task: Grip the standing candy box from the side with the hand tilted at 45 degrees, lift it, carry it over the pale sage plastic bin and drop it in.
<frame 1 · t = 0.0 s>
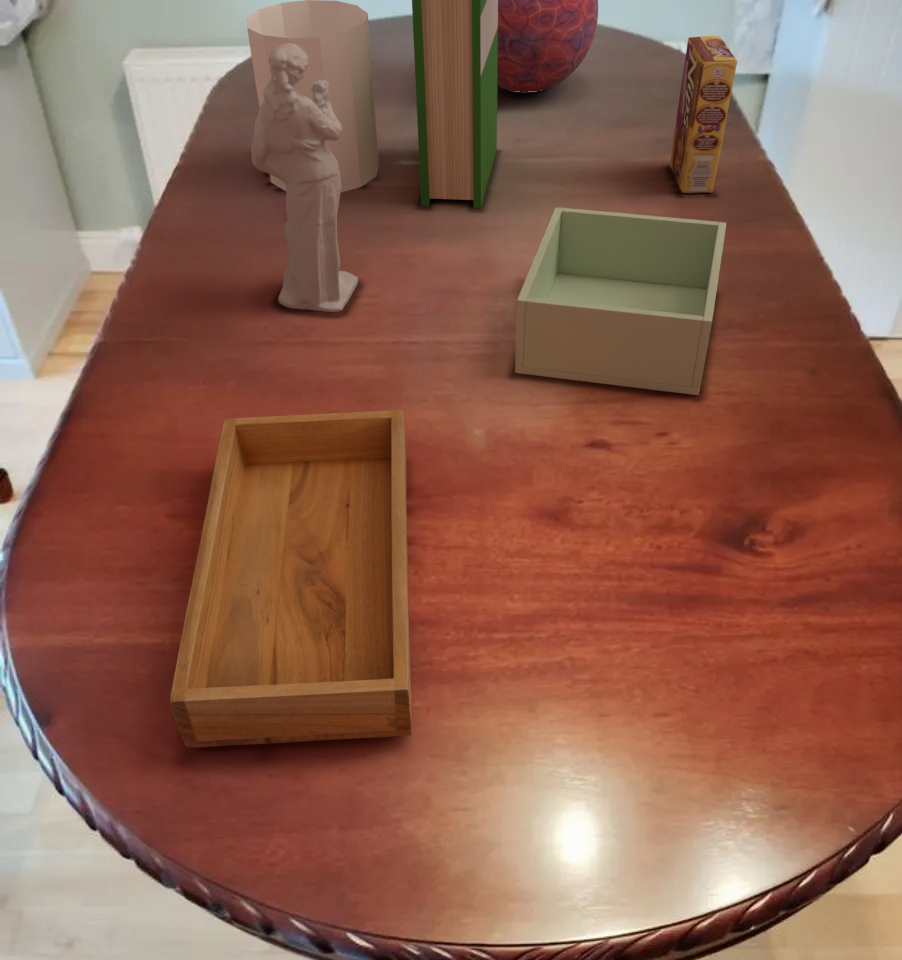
tray: (312, 588, 77), on the table
container: (324, 172, 131), on the table
decorative sphere: (525, 90, 150), on the table
candy box: (691, 180, 127), on the table
bin: (619, 331, 102), on the table
hardback book: (460, 178, 129), on the table
figurine: (318, 293, 109), on the table
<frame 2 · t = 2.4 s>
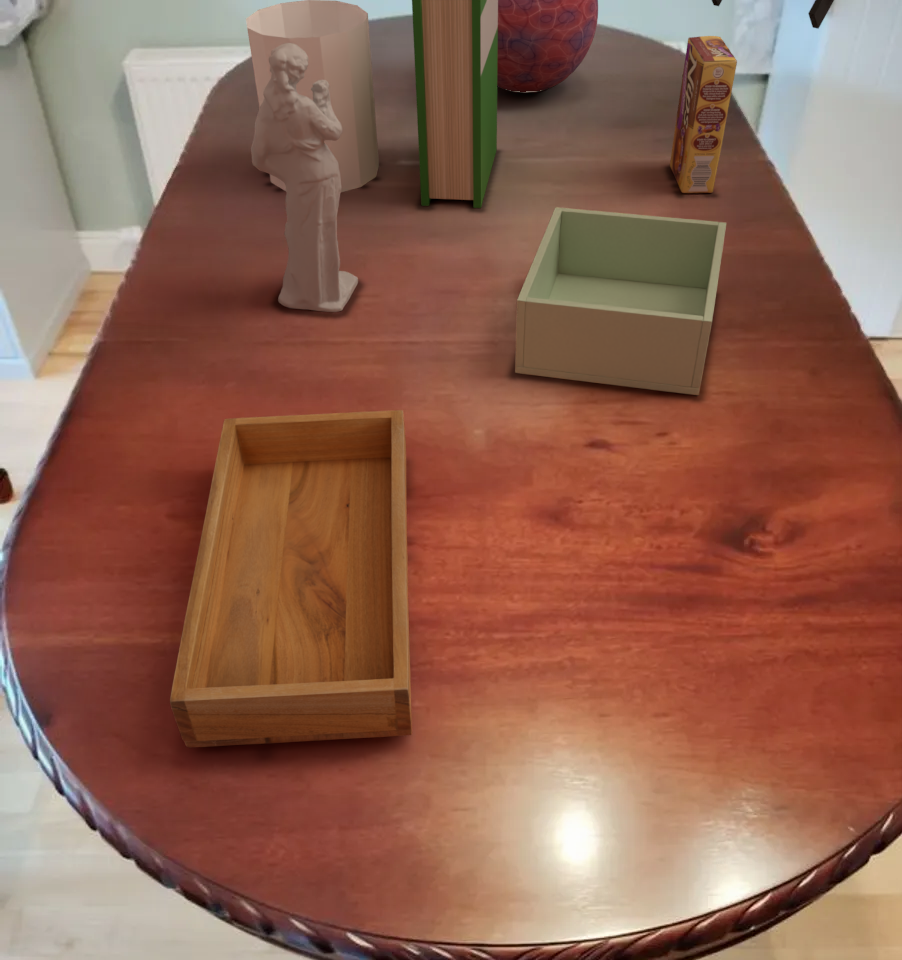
hand: (761, 10, 120), 17 cm above the table, tool tilted 45°, fingers open, 13 cm apart
nothing on the table moved.
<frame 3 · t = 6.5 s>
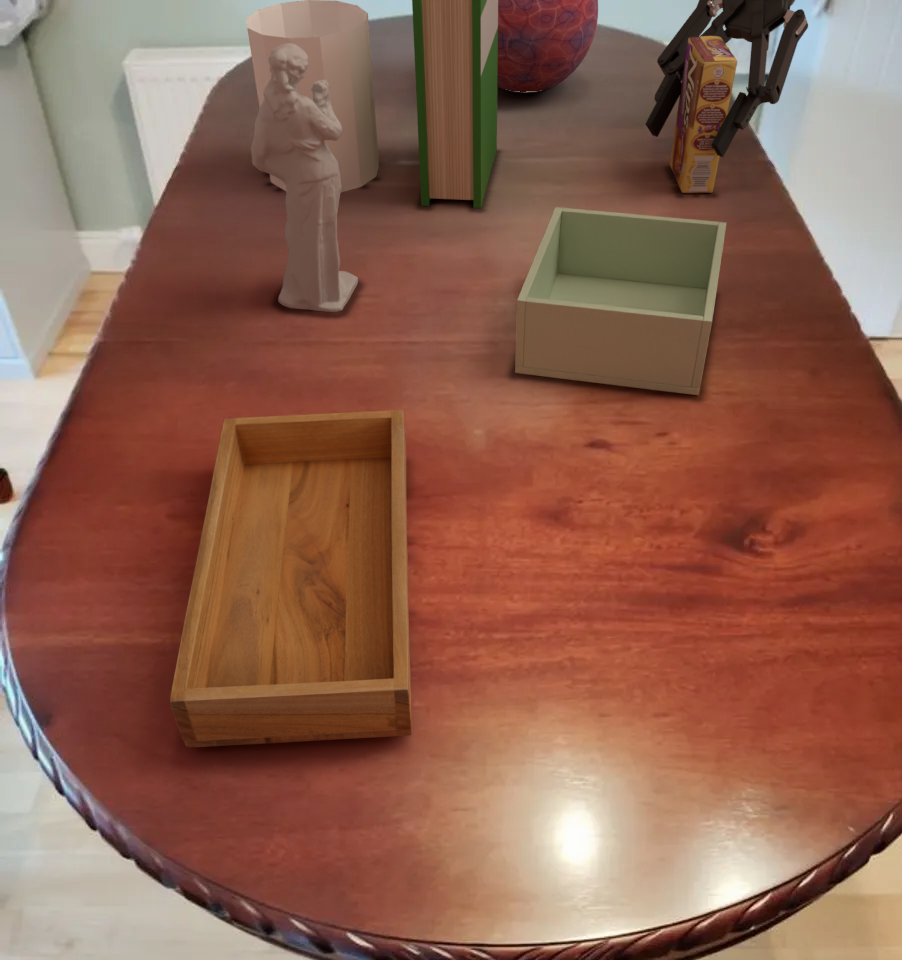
hand: (683, 140, 121), 6 cm above the table, tool tilted 45°, fingers closed on candy box, 9 cm apart
candy box: (691, 180, 127), on the table, touching gripper
everything else where it was.
when the fingers open (11 cm above the table, at t = 17.8 s): candy box drops 4 cm, resting on bin.
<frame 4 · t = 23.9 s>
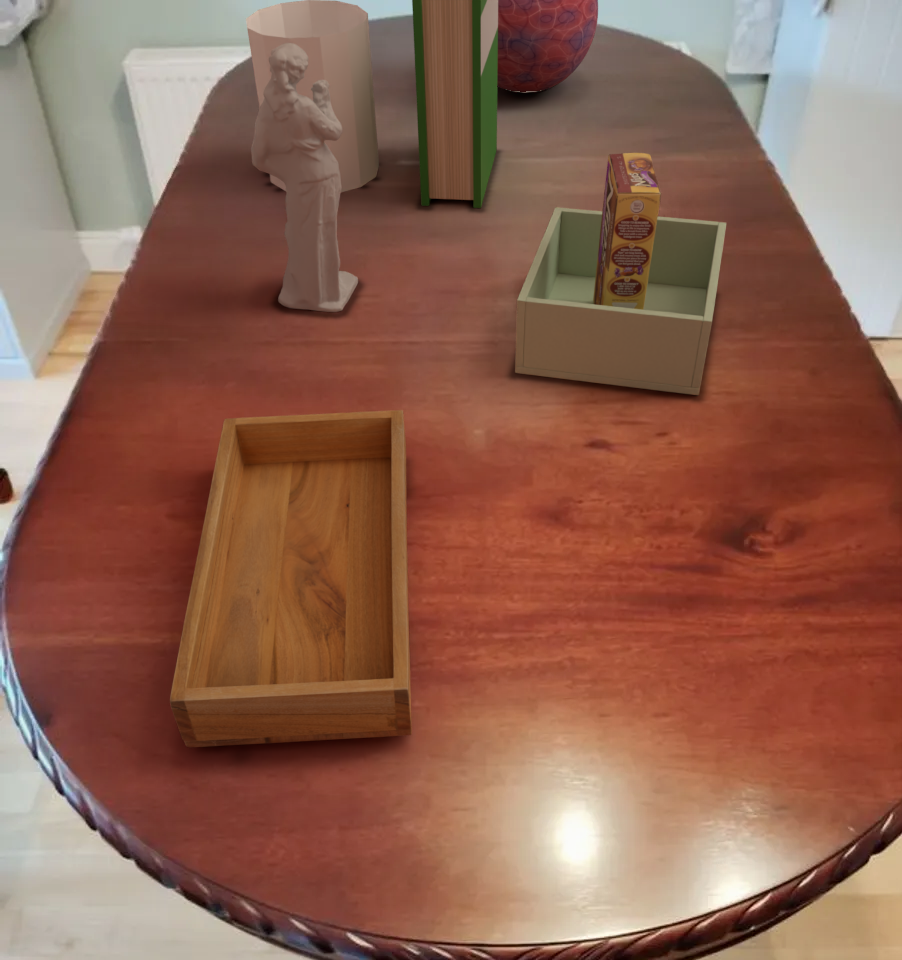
candy box: (616, 323, 102), point 1 cm above the table, touching bin
everything else where it was.
at the end: candy box inside the target area in the bin (0.5 cm from its centre), point 0.6 cm above the bin's base; the gripper is holding nothing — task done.
